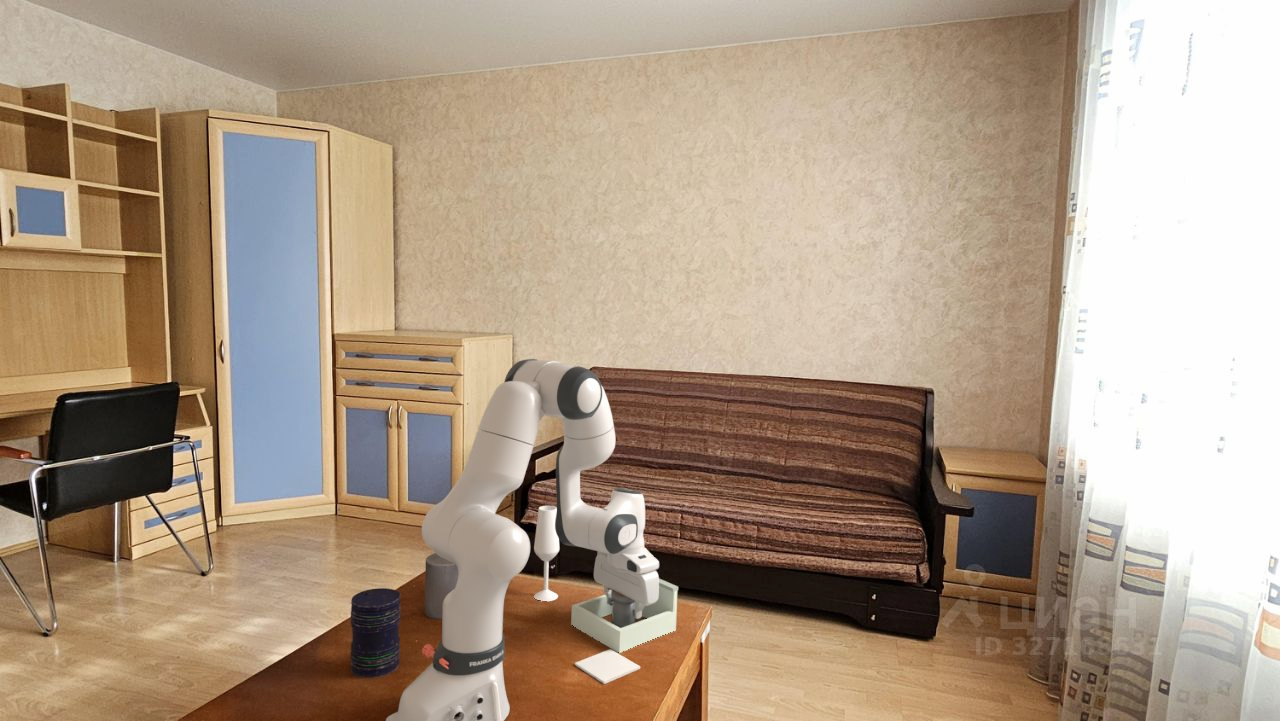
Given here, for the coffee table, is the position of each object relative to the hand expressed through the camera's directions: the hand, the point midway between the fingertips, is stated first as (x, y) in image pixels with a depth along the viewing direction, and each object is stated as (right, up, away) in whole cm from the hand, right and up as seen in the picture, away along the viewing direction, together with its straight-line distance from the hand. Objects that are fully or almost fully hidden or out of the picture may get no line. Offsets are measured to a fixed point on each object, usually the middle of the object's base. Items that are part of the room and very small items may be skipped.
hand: (623, 610), depth 170 cm
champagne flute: (-21, -3, +17) cm, 28 cm away
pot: (0, -4, 0) cm, 4 cm away
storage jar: (-52, -4, -21) cm, 56 cm away
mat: (-3, -6, -19) cm, 20 cm away
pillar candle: (-45, -3, +7) cm, 46 cm away
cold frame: (0, -4, 0) cm, 4 cm away
